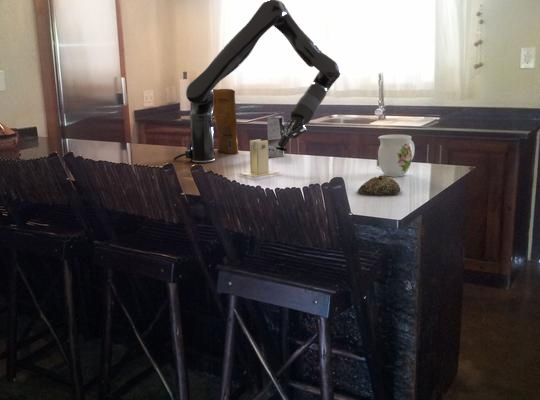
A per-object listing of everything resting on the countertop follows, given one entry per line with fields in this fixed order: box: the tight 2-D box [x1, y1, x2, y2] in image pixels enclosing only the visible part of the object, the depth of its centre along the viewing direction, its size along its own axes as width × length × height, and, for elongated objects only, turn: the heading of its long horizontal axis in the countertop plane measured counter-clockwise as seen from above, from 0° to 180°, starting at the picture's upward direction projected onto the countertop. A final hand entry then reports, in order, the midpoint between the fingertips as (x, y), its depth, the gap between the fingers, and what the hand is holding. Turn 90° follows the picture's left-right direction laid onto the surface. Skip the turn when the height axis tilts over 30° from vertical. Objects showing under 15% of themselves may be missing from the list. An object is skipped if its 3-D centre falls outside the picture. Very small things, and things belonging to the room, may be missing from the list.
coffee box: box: [266, 115, 285, 158], centre depth 267 cm, size 9×6×16 cm
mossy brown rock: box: [357, 175, 402, 196], centre depth 197 cm, size 13×12×5 cm
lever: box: [254, 142, 288, 152], centre depth 230 cm, size 12×6×2 cm, turn 121°
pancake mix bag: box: [213, 88, 239, 155], centre depth 281 cm, size 7×19×28 cm, turn 26°
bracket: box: [239, 139, 280, 178], centre depth 229 cm, size 11×9×13 cm
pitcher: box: [377, 134, 416, 178], centre depth 218 cm, size 11×18×14 cm, turn 124°
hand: (280, 146), depth 233 cm, fingers closed
